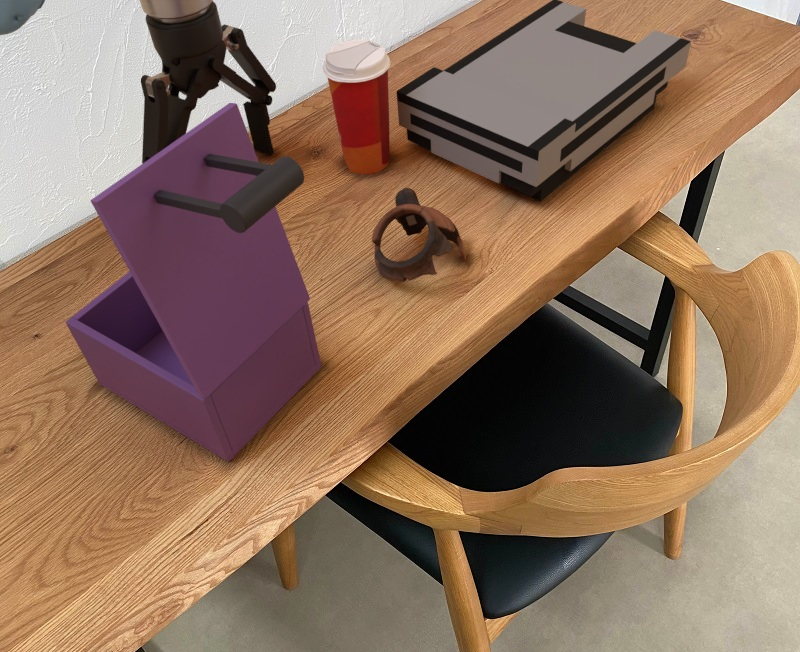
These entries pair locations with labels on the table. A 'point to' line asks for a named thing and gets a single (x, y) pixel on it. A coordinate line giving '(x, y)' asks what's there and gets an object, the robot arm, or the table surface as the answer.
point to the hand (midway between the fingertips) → (228, 179)
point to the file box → (168, 381)
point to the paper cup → (360, 102)
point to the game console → (539, 98)
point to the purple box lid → (209, 244)
